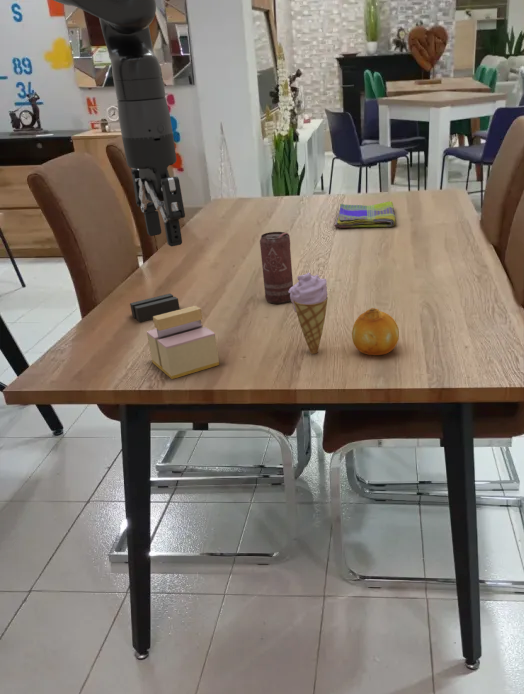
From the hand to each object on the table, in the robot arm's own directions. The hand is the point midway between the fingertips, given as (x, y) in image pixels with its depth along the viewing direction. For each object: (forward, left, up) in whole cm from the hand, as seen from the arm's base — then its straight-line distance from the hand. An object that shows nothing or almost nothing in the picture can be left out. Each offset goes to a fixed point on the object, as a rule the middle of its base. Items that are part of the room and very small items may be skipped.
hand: (164, 239), depth 112 cm
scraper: (0, 0, -21) cm, 21 cm away
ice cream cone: (+20, -11, -22) cm, 32 cm away
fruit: (+29, -18, -22) cm, 40 cm away
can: (+30, +17, -22) cm, 41 cm away
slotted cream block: (0, 0, -22) cm, 22 cm away
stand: (+6, +27, -22) cm, 36 cm away
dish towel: (+86, +61, -22) cm, 108 cm away
